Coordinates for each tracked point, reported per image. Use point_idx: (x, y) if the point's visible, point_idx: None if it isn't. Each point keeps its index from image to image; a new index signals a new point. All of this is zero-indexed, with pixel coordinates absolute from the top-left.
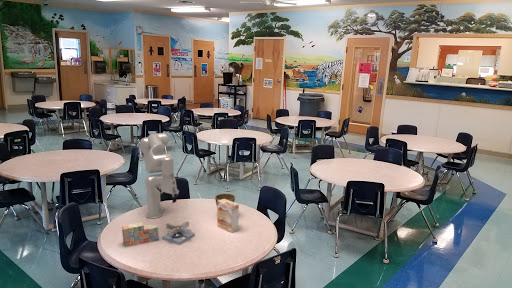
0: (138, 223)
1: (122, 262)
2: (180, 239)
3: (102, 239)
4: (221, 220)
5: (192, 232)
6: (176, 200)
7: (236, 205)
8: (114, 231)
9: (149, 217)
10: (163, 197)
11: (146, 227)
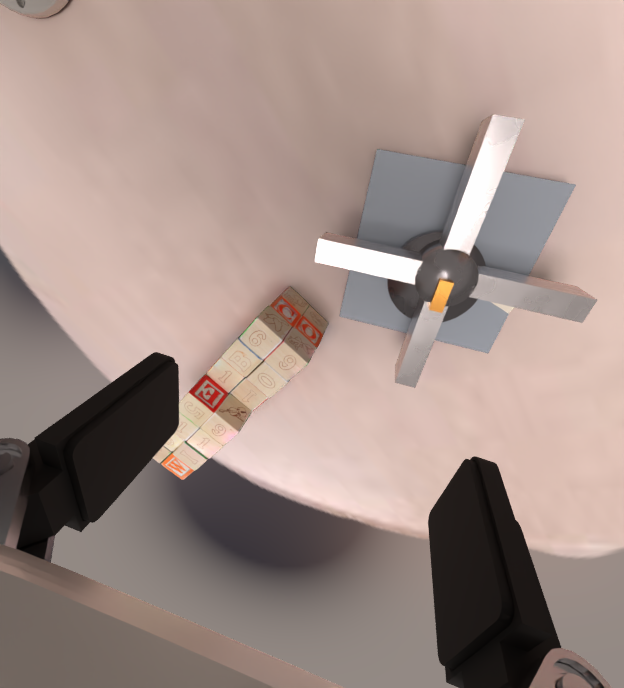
0: (190, 415)
1: (304, 497)
2: (480, 321)
3: (107, 377)
4: None
5: (551, 180)
6: (501, 480)
7: None
8: (73, 300)
9: (39, 16)
10: (149, 436)
11: (242, 382)
